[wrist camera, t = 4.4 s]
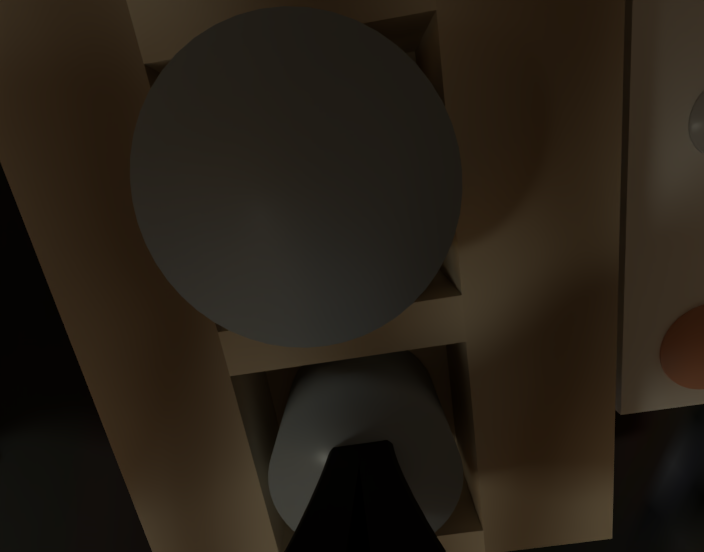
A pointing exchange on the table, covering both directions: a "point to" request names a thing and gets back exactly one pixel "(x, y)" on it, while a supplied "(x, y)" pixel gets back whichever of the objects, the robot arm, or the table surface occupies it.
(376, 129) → the button
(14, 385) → the table surface
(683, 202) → the pattern card
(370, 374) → the button
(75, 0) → the wooden tray
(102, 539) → the table surface
